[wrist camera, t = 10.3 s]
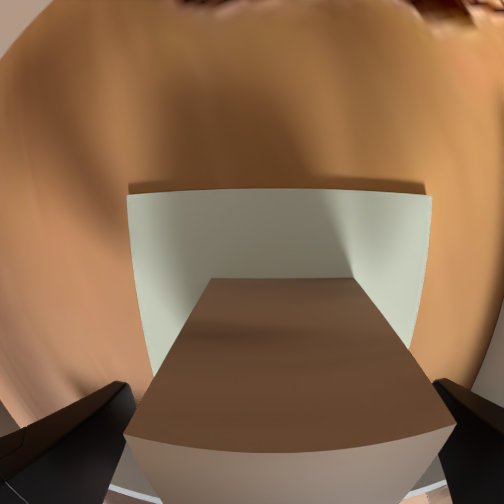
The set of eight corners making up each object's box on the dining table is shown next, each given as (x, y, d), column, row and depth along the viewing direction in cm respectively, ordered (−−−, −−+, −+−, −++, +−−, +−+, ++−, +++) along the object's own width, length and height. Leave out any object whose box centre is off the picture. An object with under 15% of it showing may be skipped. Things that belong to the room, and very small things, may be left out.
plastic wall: (457, 430, 12) (479, 469, 8) (115, 439, 14) (91, 482, 10) (528, 188, 8) (585, 198, 4) (47, 181, 10) (-21, 189, 6)
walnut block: (337, 386, 11) (372, 530, 4) (220, 387, 11) (185, 533, 4) (353, 277, 10) (457, 423, 3) (211, 278, 10) (123, 434, 3)
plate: (381, 417, 12) (383, 422, 11) (169, 417, 12) (166, 423, 12) (427, 195, 9) (432, 195, 9) (131, 194, 10) (126, 195, 9)
